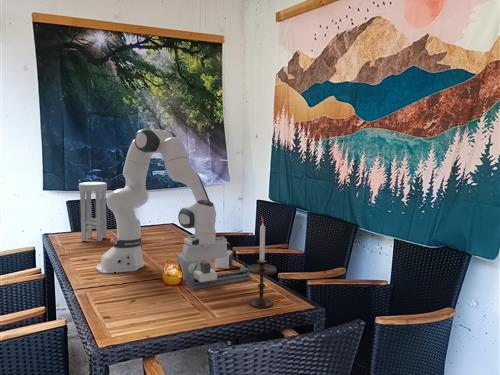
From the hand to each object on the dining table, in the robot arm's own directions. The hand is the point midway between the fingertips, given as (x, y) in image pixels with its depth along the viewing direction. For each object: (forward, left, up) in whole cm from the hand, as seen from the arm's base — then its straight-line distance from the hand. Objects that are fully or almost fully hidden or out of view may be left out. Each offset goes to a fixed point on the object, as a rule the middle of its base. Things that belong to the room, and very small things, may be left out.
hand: (205, 269), depth 191 cm
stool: (-25, +106, -7) cm, 109 cm away
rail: (+7, 0, -7) cm, 9 cm away
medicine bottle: (+20, +20, -7) cm, 29 cm away
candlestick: (+10, -31, -7) cm, 33 cm away
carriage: (0, 0, -4) cm, 4 cm away
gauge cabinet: (-1, +13, -7) cm, 15 cm away
